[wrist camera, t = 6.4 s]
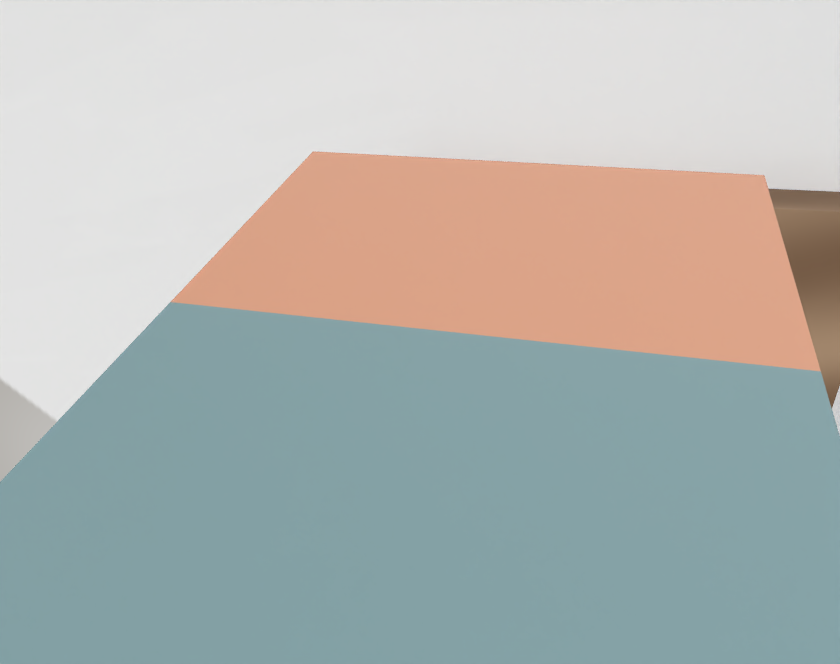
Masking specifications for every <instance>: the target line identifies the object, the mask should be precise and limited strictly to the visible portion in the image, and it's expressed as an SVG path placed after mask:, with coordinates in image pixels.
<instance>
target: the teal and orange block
mask: <svg viewBox="0 0 840 664" xmlns="http://www.w3.org/2000/svg"><path fill="white" fill-rule="evenodd" d="M0 664H840V436H839V433H838V429H837V426H836V422H835V419H834V415H833V412H832V408H831V405H830V401H829V398H828V394H827V391H826V387H825V384H824V381H823V377H822V374H821V370H820V367H819V363H818V360H817V356H816V353H815V349H814V346H813V342H812V339H811V336H810V332H809V329H808V325H807V322H806V318H805V315H804V311H803V308H802V304H801V301H800V297H799V294H798V290H797V287H796V284H795V280H794V277H793V273H792V270H791V266H790V263H789V259H788V256H787V252H786V249H785V245H784V242H783V238H782V235H781V232H780V228H779V225H778V221H777V218H776V214H775V211H774V207H773V204H772V200H771V197H770V193H769V190H768V186H767V183H766V180H765V176H764V175H749V174H730V173H711V172H692V171H673V170H654V169H635V168H616V167H597V166H578V165H559V164H540V163H521V162H502V161H483V160H464V159H445V158H426V157H407V156H388V155H369V154H350V153H331V152H312V153H311V154H310V155H309V156H308V157H307V159H306V160H305V161H304V162H303V163H302V164H301V165H300V166H299V167H298V168H297V169H296V170H295V171H294V172H293V173H292V174H291V175H290V176H289V178H288V179H287V180H286V181H285V182H284V183H283V184H282V185H281V186H280V187H279V188H278V189H277V190H276V191H275V192H274V193H273V194H272V195H271V197H270V198H269V199H268V200H267V201H266V202H265V203H264V204H263V205H262V206H261V207H260V208H259V209H258V210H257V211H256V212H255V213H254V215H253V216H252V217H251V218H250V219H249V220H248V221H247V222H246V223H245V224H244V225H243V226H242V227H241V228H240V229H239V230H238V231H237V232H236V234H235V235H234V236H233V237H232V238H231V239H230V240H229V241H228V242H227V243H226V244H225V245H224V246H223V247H222V248H221V249H220V250H219V251H218V253H217V254H216V255H215V256H214V257H213V258H212V259H211V260H210V261H209V262H208V263H207V264H206V265H205V266H204V267H203V268H202V269H201V270H200V272H199V273H198V274H197V275H196V276H195V277H194V278H193V279H192V280H191V281H190V282H189V283H188V284H187V285H186V286H185V287H184V288H183V290H182V291H181V292H180V293H179V294H178V295H177V296H176V297H175V298H174V299H173V300H172V301H171V302H170V303H169V304H168V305H167V306H166V307H165V309H164V310H163V311H162V312H161V313H160V314H159V315H158V316H157V317H156V318H155V319H154V320H153V321H152V322H151V323H150V324H149V325H148V326H147V328H146V329H145V330H144V331H143V332H142V333H141V334H140V335H139V336H138V337H137V338H136V339H135V340H134V341H133V342H132V343H131V344H130V345H129V347H128V348H127V349H126V350H125V351H124V352H123V353H122V354H121V355H120V356H119V357H118V358H117V359H116V360H115V361H114V362H113V363H112V364H111V366H110V367H109V368H108V369H107V370H106V371H105V372H104V373H103V374H102V375H101V376H100V377H99V378H98V379H97V380H96V381H95V382H94V384H93V385H92V386H91V387H90V388H89V389H88V390H87V391H86V392H85V393H84V394H83V395H82V396H81V397H80V398H79V399H78V400H77V401H76V403H75V404H74V405H73V406H72V407H71V408H70V409H69V410H68V411H67V412H66V413H65V414H64V415H63V416H62V417H61V418H60V419H59V420H58V422H57V423H56V424H55V425H54V426H53V427H52V428H51V429H50V430H49V431H48V432H47V433H46V434H45V435H44V436H43V437H42V439H41V440H40V441H39V442H38V443H37V444H36V445H35V446H34V447H33V448H32V449H31V450H30V451H29V452H28V453H27V454H26V455H25V457H23V459H22V460H21V461H20V462H19V463H18V464H17V465H16V466H15V467H14V468H13V469H12V470H11V471H10V472H9V473H8V474H7V476H5V478H4V479H3V480H2V481H1V482H0Z"/></svg>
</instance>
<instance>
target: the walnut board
mask: <svg viewBox="0 0 840 664" xmlns="http://www.w3.org/2000/svg"><path fill="white" fill-rule="evenodd" d="M768 190H769V193H770V197H771V200H772V204H773V207H774V211H775V214H776V218H777V221H778V225H779V228H780V232H781V235H782V238H783V242H784V245H785V249H786V252H787V256H788V259H789V263H790V266H791V270H792V273H793V277H794V280H795V284H796V287H797V290H798V294H799V297H800V301H801V304H802V308H803V311H804V315H805V318H806V322H807V325H808V329H809V332H810V336H811V339H812V342H813V346H814V349H815V353H816V356H817V360H818V363H819V367H820V370H821V374H822V377H823V381H824V384H825V387H826V391H827V394H828V398H829V401H830V405H831V408H832V406H833V403H834V400H835V397H836V394H837V391H838V389H839V386H840V192H826V191H804V190H781V189H768Z"/></svg>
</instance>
